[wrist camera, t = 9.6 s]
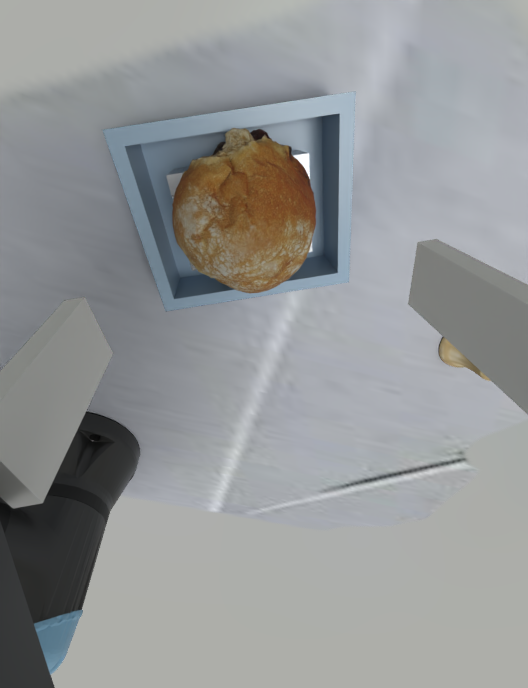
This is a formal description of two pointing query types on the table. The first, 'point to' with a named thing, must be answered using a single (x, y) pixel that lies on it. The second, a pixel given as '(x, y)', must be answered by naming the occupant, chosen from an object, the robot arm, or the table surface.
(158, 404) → the table surface
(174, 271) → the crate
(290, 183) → the bread roll
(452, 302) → the robot arm
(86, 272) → the table surface
